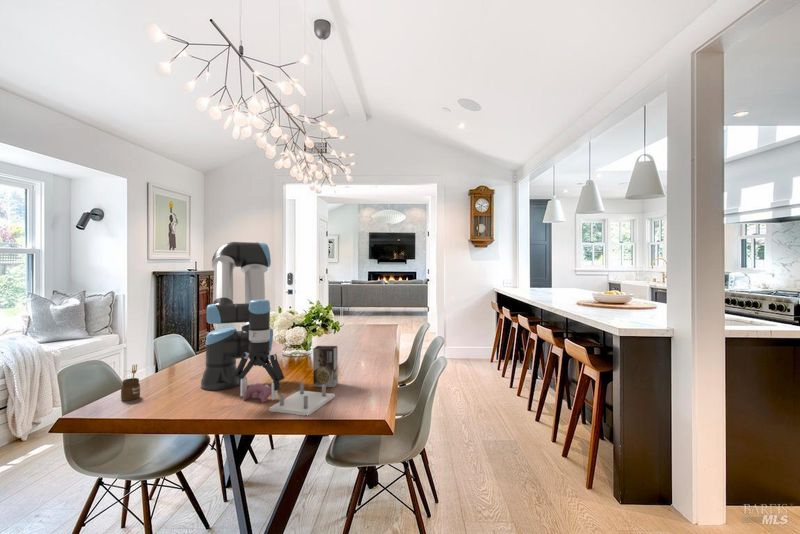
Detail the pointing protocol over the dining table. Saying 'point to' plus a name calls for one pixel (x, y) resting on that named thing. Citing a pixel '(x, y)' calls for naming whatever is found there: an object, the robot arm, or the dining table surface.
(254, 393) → the video game controller
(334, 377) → the coffee box
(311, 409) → the pin tray
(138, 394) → the utensil holder
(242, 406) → the dining table surface
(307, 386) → the dining table surface
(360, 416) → the dining table surface
